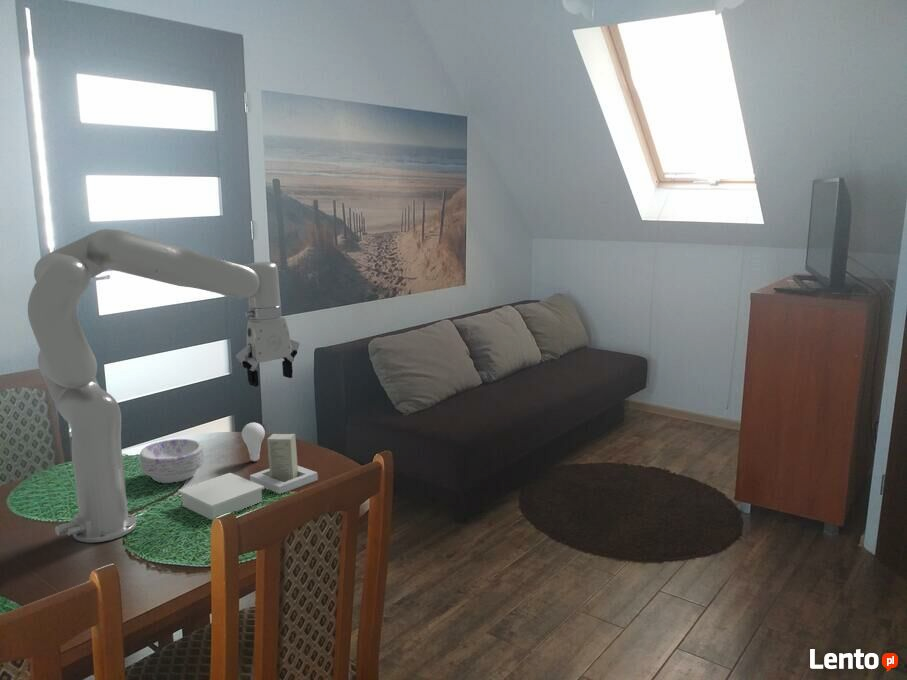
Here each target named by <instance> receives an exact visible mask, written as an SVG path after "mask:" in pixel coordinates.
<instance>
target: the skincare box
mask: <svg viewBox="0 0 907 680" xmlns="http://www.w3.org/2000/svg"><path fill="white" fill-rule="evenodd" d="M296 439H297V438H296V433H272V434H271V435H270V436H269V437H268V438H266V440H267V442H266V443H267V453H268V464H269V466H268V467H269V468H270V477H271V478H274V479H277V480H279V481H282V482H286V481H289V480H291V479H294V478H297V477H298V466H299V465H298V456H297V455H298V454H297V453H298V452H297V443H296V441H297V440H296ZM269 468H268V469H269Z"/></svg>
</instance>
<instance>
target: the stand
mask: <svg viewBox="0 0 907 680" xmlns="http://www.w3.org/2000/svg"><path fill="white" fill-rule="evenodd" d="M177 490H178V491H177V492H178V493H179V494H180V495H181V502H182V503H181V504H182V507H184V508H187V509H189V510H190V511H193V512H194V513H196V514H199V515H201V516H202V517H205V518H207V519H209V520H211V521H213V520H212V519H213V518H214V517H216V516H218V515H221V514H223V513H227V512H233V511H238V510H241V511H243V510H242V509H244V508H246V509H248V508H247V507H249V506H251V507H253V506H252V505H254V504H257V503H259V502H262V503H263V497H262V496H263V493H262V491H263V490H265V488H264V486H262V485H260V484H257V483H255V482H252V481H250V479H247V478H245V477H242V476H239V475H237V474H234V473H233V472H228V473H225V474H224V473H223V474H222V475H219V476H216V477H213V478H210V479H206V480H204V481H202V482H201V481H200V482H197V483H195V484H191V485H189V486H186V487H183V488H180V489H177ZM259 504H260V503H259ZM257 505H258V504H257ZM254 506H255V505H254ZM249 508H250V507H249ZM244 510H245V509H244ZM238 512H239V511H238ZM233 514H235V513H234V512H233Z"/></svg>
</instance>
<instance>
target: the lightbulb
mask: <svg viewBox="0 0 907 680" xmlns="http://www.w3.org/2000/svg"><path fill="white" fill-rule="evenodd" d="M265 435H266V432H265V428H264V427H263V425H261V424H260V423H258V422H249V423H247V424H245V425H244V427H243V428H242V431H241V439H242V440H243V441H244V443H245V445H246V446H247V451H248V454H249V460H250V461H252V462H258V460H260V452H261V447H262V446H261V445H262V443H263V441H264V438H265Z"/></svg>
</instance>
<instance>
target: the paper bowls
mask: <svg viewBox="0 0 907 680" xmlns="http://www.w3.org/2000/svg"><path fill="white" fill-rule="evenodd" d="M203 447H204V446H203V444H202V443H201V442H200V441H198V440H196V439H189V438H176V439H175V438H174V439H168V440H161V441H157V442H155V443H152V444H149V445H146V446H145V447H144V448H143V449H141V451H140V452H139V458H140V469H141V472H142V473H143V475H145V476H149V477H150V478H152V480H154V482H156V481H157V483H160V482H161V483H160V484H174V483H173V482H176V483H180V482H183V481H187V480H188V479H191V478H192V477H193V476H194V475H195V473H196V471H197V469H200V468H201V467H202V466H203V465H204V463H205V462H204V461H205V457H204V456H205V455H204V448H203ZM179 481H180V482H179Z"/></svg>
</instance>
